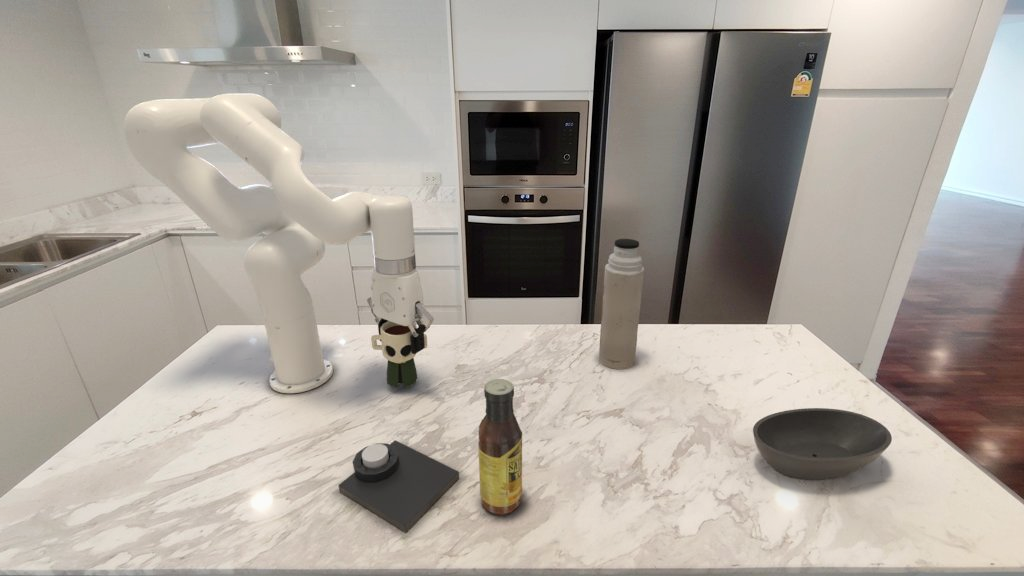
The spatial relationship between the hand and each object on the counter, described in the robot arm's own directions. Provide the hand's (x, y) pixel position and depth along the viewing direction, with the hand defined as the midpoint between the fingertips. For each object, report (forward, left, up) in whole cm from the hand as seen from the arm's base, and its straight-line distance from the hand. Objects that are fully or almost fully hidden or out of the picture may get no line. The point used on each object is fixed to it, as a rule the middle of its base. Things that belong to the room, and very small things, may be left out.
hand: (401, 344), depth 97 cm
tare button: (+14, -21, -7) cm, 26 cm away
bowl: (+73, +18, -10) cm, 76 cm away
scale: (+19, -21, -10) cm, 29 cm away
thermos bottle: (+34, +32, -10) cm, 48 cm away
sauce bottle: (+34, -15, -10) cm, 38 cm away
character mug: (-1, 0, -9) cm, 9 cm away
